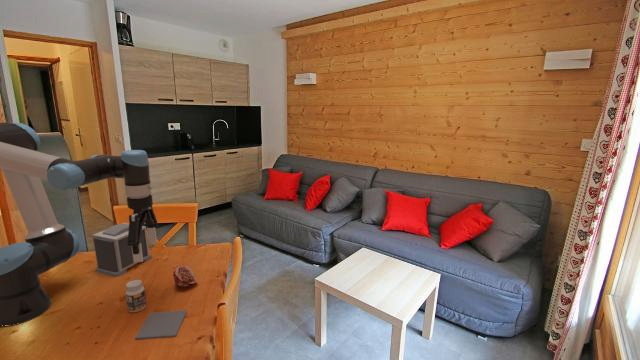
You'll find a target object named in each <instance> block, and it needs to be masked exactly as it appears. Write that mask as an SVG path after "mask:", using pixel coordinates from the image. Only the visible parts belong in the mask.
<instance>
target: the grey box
mask: <svg viewBox="0 0 640 360" xmlns="http://www.w3.org/2000/svg"><path fill="white" fill-rule="evenodd" d="M128 232H129V223H127V222H122V223H118V224H115V225H112V226H110V227H108V228H106V229H103V230H102V231H99V232H96V233H94V234H92V240H93V241H92V242H93V246H94V247H93V248H94V252H95V253H94V254H95V258H96V264H97V266H96V267H95V268H94V269H95V273H98V274H101V275H105V276H110V277H114V278H118V277H120V276H122V275H124V274H126V273H128V272H127V271H128V270H127V269H129V268H131V267H133V266H135V265H136V264H138V263H139V262H134V261H133V253H132V246H128ZM140 243H141V246H142V255H143V262H144V263H146V262H147V261H149V260H151V259H152V258H153V257H152V254H151V253H150V249H149V243H148V235H147V226H145V225H143V226H142V232H141V238H140Z"/></svg>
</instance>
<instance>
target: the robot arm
mask: <svg viewBox="0 0 640 360" xmlns="http://www.w3.org/2000/svg"><path fill="white" fill-rule="evenodd" d="M40 146H41V140H40V136H39V135H38V133H37V132H36V131H35V129H33V128H32V127H31V126H29V125H27V124H25V123H21V122H10V121H8V122H0V169H1V172H2V173H3V177H4V178H5V181H6V184H7V185H8V188H9V190H10V193H11V194H12V197H13V200H14V202H15V204H16V206H17V209H18V212H19V213H20V214H19V215H20V216H21V219H22V221H23V224H24V225H25V228H26V231H27V233H26V235H25V236H24V240H25V242H24V241H23V242H21V241H20V242H16V243H12V244H10V245H9V244H7V245H5V246H4V245H3V246H2V247H0V326H2V325H3V326H4V327H6V326H5V325H11V326H14V325H13V324H16V325H18V324H17V323H19V324H22V323H25V322H28V321H31V320H32V318H33V319H34V317H35V318H37V317H39V316H40V315H42V314H43V313H45V312H46V311H47V310H48V309H49V308H50V307H51V305H52V299H51V298H52V297H51V296H50V295H49V293H47V292H46V290H45V289H44V287H43V286H42V284H41V281H40V275H43V274H44V273H45V272H48V271H49V270H52V269H53V268H56V267H57V266H59V265H61V264H63V263H66V262H68V261H69V260H70V259H71V258H73V257H75V256H76V255H77V253H78V252H79V250H80V240H79V237H78V235H77V234H76V233H74V230H71V229H68V228H67V229H66V226H65V225H63V224H60V223H58V220H57V218H56V216H55V215H56V214H55V213H54V209H53V208H52V204H51V203H50V200H49V197H48V194H47V193H46V189H45V187H44V185H43V182H42V180H41V179H43V180H46V181H48V183H49V185H50V186H53V188H54V189H56V190H60V191H65V190H66V191H67V190H72V189H77V188H79V187H82V186H85V185H89V184H93V183H96V182H99V181H100V182H101V181H103V180H106V179H124V180H123V182H124V188H125V189H124V190H125V196H126V204H127V205H126V206H127V208H129V209H130V210H132V211H133V214H129V216H128V222H129V223H128V224H129V232H128V246H132V253H133V261H134V262H138V263H142V262H143V255H142V246H141V243H140V238H141V232H142V226H145V225H146V231H147V239H148V245H157V244H158V241H157V240H158V239H157V230H156V228H157V227H159V226H158V224H159V223H158V220H157V217H156V214H155V212H154V208H153V205H154V204H153V203H154V202H153V195H152V189H153V186H152V185H151V176H150V162H149V158H148V153H147V151H145V150H143V149H130V150H129V149H127V150H124V151H121V153H120V155H110V154H109V155H108V154H94V155H91V156H90V157H89V158H85V159H80V160H71V159H67V158H64V157H60V156H57V155H52V154H48V153H45V152H41V151H40V148H41V147H40ZM27 320H28V321H27ZM24 321H25V322H24ZM21 322H22V323H21Z"/></svg>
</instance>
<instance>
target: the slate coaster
mask: <svg viewBox="0 0 640 360" xmlns="http://www.w3.org/2000/svg"><path fill="white" fill-rule="evenodd" d="M187 312H188V310H186V309H185V310H183V309H182V310H173V311H172V310H171V311H169V310H168V311H156V312H155V311H154V312H153V311H152V312H150V313H149V315H148V316H147V318H146V319H145V320H144V323H143V324H142V326H141V327H140V329H139V330H138V332H137V334H136V335H135V337H134V340H135V341H136V340H149V339H161V338H163V339H164V338H175V337H177V335H178V333H179V331H180V329H181V325H182V323H183V322H184V320H185V317H186V314H187Z"/></svg>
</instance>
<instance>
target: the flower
mask: <svg viewBox="0 0 640 360" xmlns="http://www.w3.org/2000/svg"><path fill="white" fill-rule="evenodd" d="M172 272H173V273H172V274H173V280H174V283H175V284H174V285H173V286H176V287H178V286H180V288H184V289H186V287H189V286H190V285H189V284H191V285H193V284H195V283H196V282H198V279H197V278H196V277H195V274H196V273H194V272H193V270H192V268H191V267H190V266H189V265H183V264H181V265H178V266H177V265H176V267H175V269H174V270H173V271H172Z"/></svg>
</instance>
